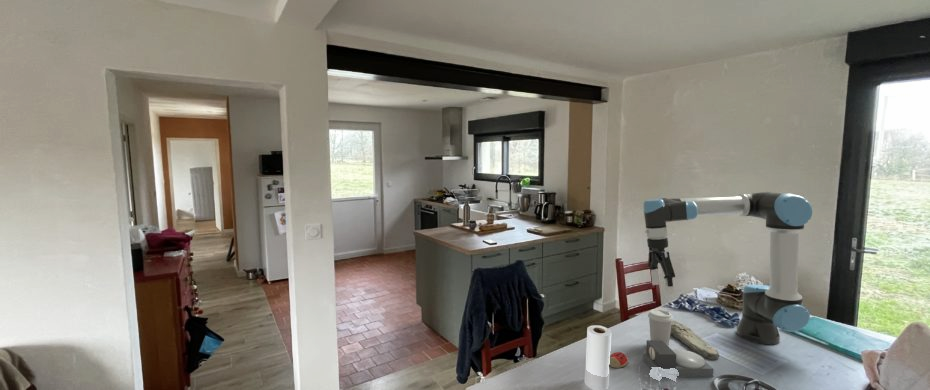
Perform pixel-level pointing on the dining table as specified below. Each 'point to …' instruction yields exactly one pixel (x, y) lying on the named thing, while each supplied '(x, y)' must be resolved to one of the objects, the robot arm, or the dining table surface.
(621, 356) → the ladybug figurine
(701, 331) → the dining table surface
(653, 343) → the kitchen scale
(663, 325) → the coffee cup
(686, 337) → the elongated rock
